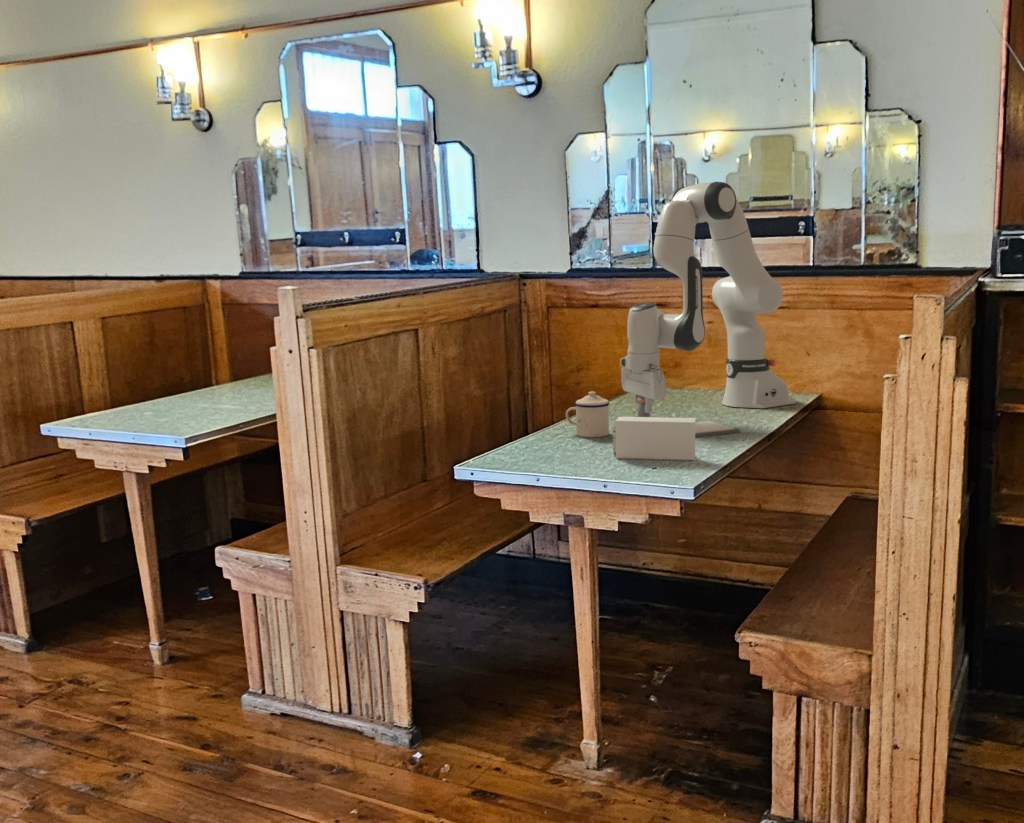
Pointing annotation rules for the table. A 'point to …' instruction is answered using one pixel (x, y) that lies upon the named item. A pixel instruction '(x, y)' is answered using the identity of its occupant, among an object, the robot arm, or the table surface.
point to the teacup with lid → (591, 416)
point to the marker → (642, 407)
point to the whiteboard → (713, 429)
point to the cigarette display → (654, 438)
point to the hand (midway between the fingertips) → (643, 411)
